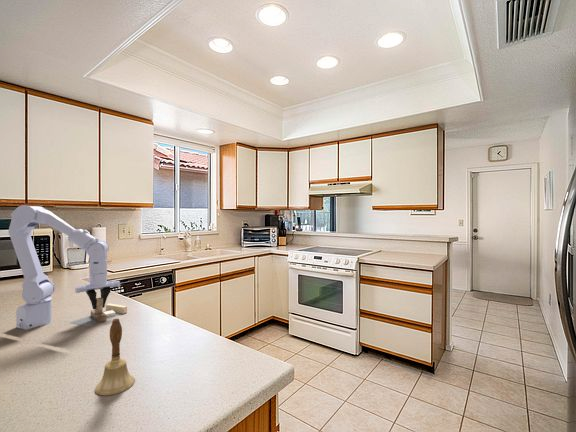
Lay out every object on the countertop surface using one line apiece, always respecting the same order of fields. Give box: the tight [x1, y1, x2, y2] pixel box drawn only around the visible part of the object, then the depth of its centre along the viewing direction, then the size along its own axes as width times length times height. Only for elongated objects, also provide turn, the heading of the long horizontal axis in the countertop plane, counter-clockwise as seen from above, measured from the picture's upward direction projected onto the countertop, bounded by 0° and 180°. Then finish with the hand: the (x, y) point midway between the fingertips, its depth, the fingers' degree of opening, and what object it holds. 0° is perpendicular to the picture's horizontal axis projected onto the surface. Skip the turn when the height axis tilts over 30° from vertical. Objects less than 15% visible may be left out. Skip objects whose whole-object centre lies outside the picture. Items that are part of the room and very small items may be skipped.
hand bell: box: [94, 318, 136, 396], centre depth 71 cm, size 8×8×16 cm
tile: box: [104, 310, 115, 317], centre depth 116 cm, size 4×4×1 cm
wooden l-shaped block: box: [89, 296, 107, 323], centre depth 113 cm, size 3×10×8 cm, turn 46°
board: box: [69, 303, 128, 328], centre depth 114 cm, size 16×10×4 cm, turn 159°
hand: (98, 307), depth 114 cm, fingers closed on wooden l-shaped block, 2 cm apart
